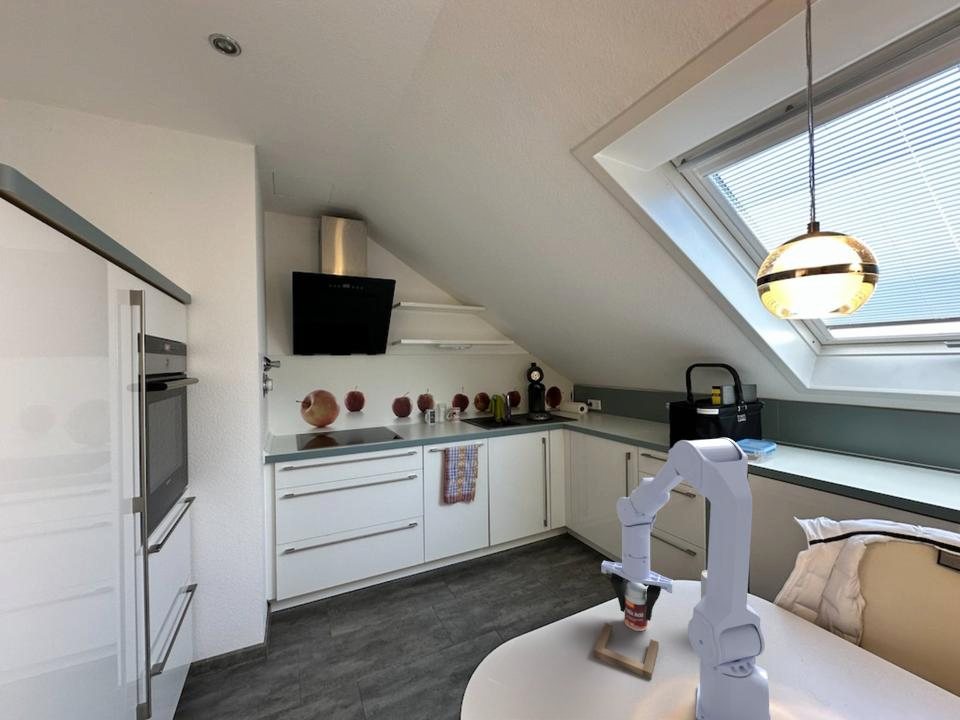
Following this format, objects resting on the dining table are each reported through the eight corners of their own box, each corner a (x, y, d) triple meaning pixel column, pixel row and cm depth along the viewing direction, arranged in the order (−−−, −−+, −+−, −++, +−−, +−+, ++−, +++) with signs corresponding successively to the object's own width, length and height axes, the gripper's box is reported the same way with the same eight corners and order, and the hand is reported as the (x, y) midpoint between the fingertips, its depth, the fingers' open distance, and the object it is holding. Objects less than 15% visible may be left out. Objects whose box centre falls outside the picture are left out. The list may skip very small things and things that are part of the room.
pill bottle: (622, 627, 83) (622, 588, 83) (626, 614, 87) (626, 577, 87) (646, 635, 81) (646, 595, 81) (649, 621, 85) (649, 584, 85)
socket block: (658, 649, 77) (658, 641, 77) (651, 681, 69) (651, 673, 69) (605, 629, 82) (605, 622, 82) (593, 657, 75) (593, 649, 75)
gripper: (674, 552, 83) (674, 614, 83) (606, 536, 91) (607, 592, 91) (670, 568, 77) (670, 634, 78) (598, 548, 85) (598, 609, 85)
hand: (636, 613), depth 84 cm, fingers closed on pill bottle, 5 cm apart
